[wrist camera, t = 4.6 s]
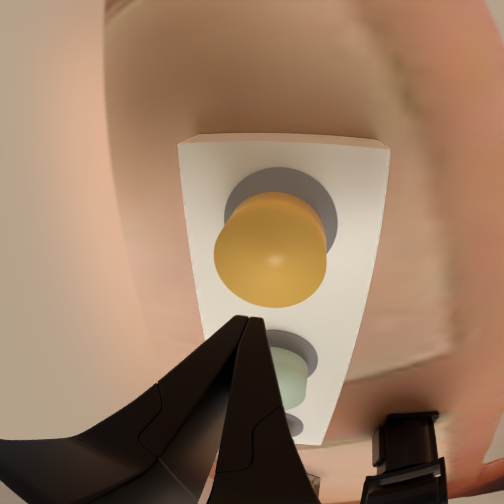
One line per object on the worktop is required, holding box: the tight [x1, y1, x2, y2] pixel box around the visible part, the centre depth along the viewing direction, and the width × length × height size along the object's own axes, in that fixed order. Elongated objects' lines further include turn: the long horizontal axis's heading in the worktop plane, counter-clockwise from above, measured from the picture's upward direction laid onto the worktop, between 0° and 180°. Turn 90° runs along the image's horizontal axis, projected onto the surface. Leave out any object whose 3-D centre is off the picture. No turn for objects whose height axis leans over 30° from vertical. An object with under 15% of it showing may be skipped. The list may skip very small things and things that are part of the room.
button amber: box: [214, 192, 327, 308], centre depth 13 cm, size 4×4×2 cm
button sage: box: [270, 347, 308, 410], centre depth 18 cm, size 4×4×2 cm
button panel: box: [177, 133, 391, 445], centre depth 21 cm, size 10×28×3 cm, turn 2°
